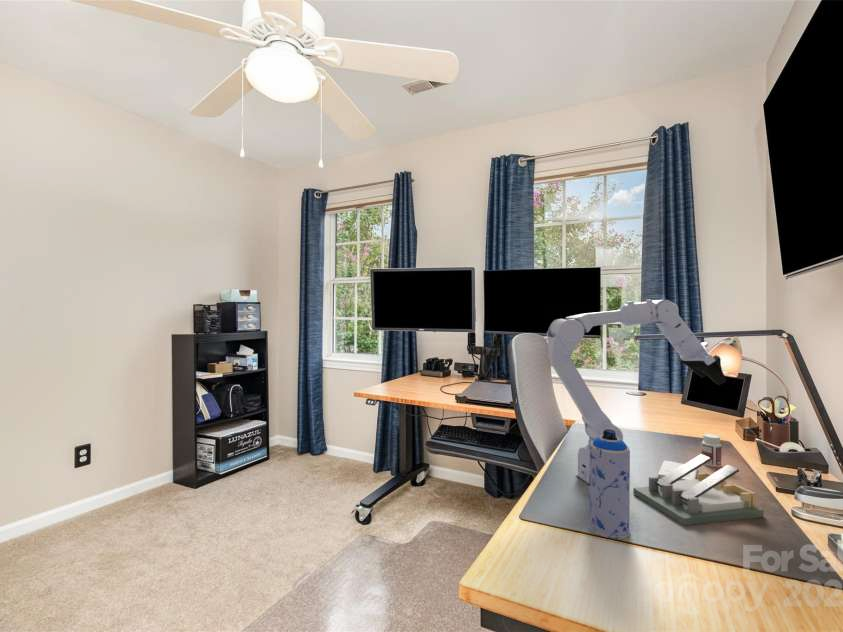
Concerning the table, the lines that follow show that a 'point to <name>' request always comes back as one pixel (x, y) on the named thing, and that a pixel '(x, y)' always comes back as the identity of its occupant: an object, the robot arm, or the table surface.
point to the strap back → (684, 470)
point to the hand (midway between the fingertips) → (713, 379)
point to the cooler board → (693, 518)
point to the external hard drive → (671, 466)
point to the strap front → (709, 482)
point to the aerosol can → (609, 486)
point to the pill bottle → (712, 449)
